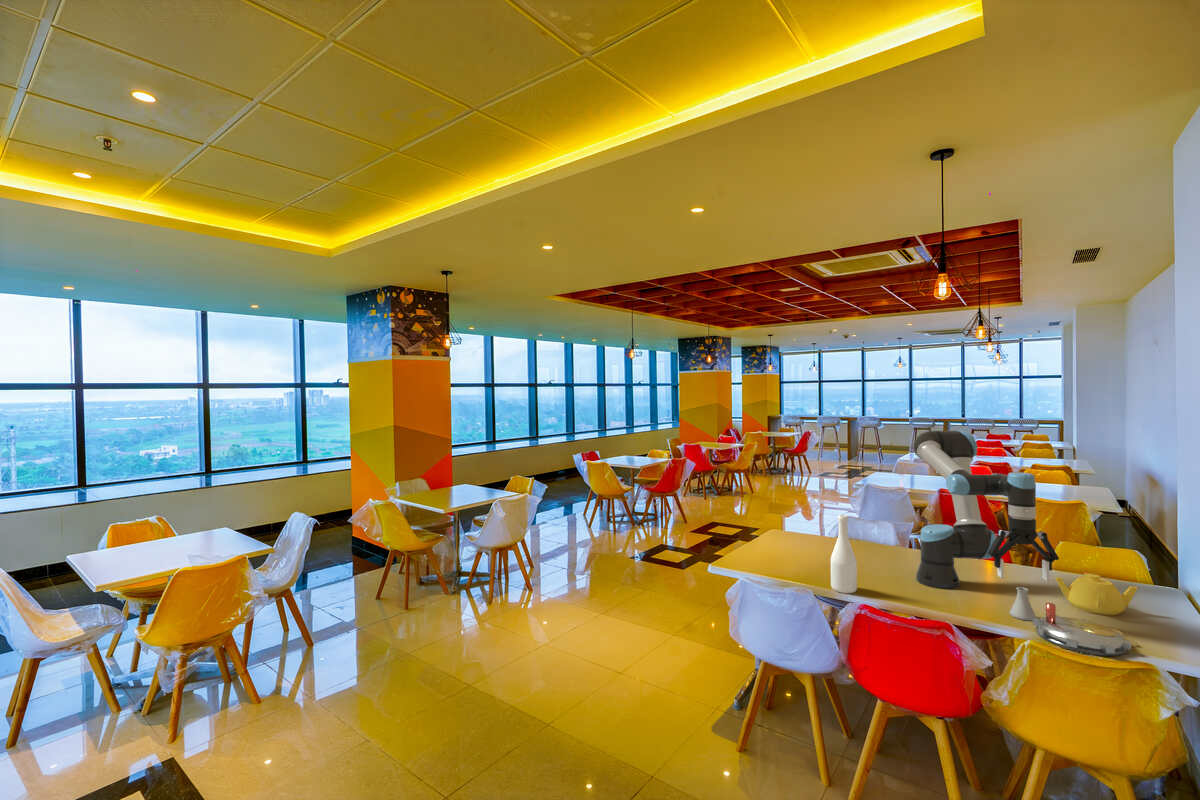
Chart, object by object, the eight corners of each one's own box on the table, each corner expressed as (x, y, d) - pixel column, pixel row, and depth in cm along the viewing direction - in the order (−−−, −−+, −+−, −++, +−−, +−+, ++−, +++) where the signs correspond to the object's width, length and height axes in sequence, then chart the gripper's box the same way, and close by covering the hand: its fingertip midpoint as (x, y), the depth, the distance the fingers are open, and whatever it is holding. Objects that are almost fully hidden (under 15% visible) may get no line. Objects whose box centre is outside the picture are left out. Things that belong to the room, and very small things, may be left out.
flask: (1004, 613, 186) (1004, 585, 186) (1023, 612, 187) (1022, 584, 187) (1022, 622, 179) (1022, 593, 179) (1041, 620, 180) (1041, 592, 180)
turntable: (1124, 661, 150) (1124, 633, 150) (1024, 634, 168) (1024, 609, 167) (1135, 637, 164) (1135, 612, 164) (1042, 614, 182) (1042, 591, 182)
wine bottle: (860, 589, 211) (859, 515, 211) (852, 596, 204) (851, 519, 204) (835, 583, 218) (834, 511, 218) (827, 590, 211) (826, 515, 211)
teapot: (1104, 620, 180) (1103, 585, 180) (1052, 601, 196) (1051, 569, 196) (1139, 614, 184) (1139, 580, 184) (1085, 597, 200) (1085, 565, 200)
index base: (1060, 652, 158) (1060, 648, 158) (1022, 622, 178) (1022, 619, 178) (1160, 661, 152) (1160, 657, 152) (1109, 629, 173) (1109, 625, 172)
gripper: (986, 518, 182) (987, 579, 182) (1071, 521, 176) (1072, 584, 176) (976, 513, 190) (977, 572, 189) (1057, 516, 183) (1058, 577, 183)
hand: (1023, 578), depth 183 cm, fingers open, 13 cm apart
